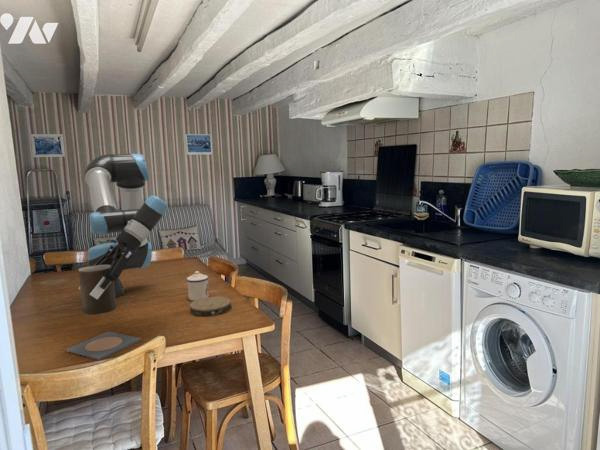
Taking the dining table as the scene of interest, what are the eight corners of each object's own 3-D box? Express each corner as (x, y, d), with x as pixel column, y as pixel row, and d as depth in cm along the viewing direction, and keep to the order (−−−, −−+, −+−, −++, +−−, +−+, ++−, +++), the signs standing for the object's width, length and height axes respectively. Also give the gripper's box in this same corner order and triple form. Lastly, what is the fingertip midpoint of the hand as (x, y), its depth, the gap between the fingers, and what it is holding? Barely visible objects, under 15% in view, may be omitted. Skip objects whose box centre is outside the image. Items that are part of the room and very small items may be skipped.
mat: (65, 351, 135) (64, 349, 135) (108, 333, 149) (108, 331, 149) (98, 360, 128) (98, 358, 128) (141, 340, 142) (141, 338, 142)
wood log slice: (187, 307, 174) (186, 300, 173) (226, 301, 180) (225, 294, 180) (194, 320, 159) (193, 312, 159) (236, 312, 165) (235, 305, 165)
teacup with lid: (211, 299, 183) (209, 272, 181) (189, 302, 180) (187, 275, 178) (207, 291, 194) (205, 266, 192) (186, 294, 191) (184, 269, 189)
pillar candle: (108, 314, 132) (103, 266, 130) (76, 315, 132) (71, 267, 130) (121, 304, 142) (117, 259, 140) (92, 305, 142) (87, 261, 140)
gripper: (110, 227, 148) (66, 281, 140) (138, 232, 132) (90, 294, 124) (127, 239, 153) (85, 293, 144) (156, 246, 137) (110, 307, 128)
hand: (87, 293), depth 134 cm, fingers closed on pillar candle, 9 cm apart
